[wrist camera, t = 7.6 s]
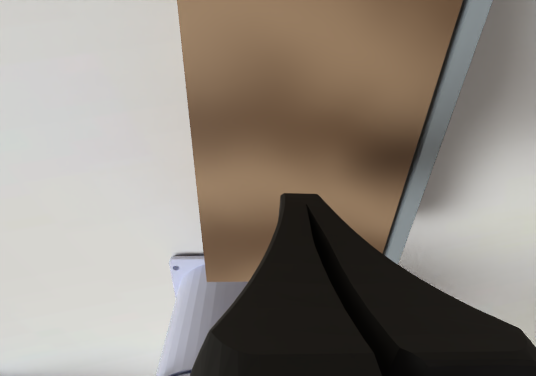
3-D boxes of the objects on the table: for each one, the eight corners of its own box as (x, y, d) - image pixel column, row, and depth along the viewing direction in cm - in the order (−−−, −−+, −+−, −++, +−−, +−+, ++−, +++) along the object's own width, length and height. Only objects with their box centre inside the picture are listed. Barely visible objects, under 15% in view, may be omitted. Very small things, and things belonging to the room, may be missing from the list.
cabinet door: (376, 221, 23) (408, 278, 18) (353, 221, 23) (379, 278, 18) (459, -78, 14) (568, -122, 9) (421, -80, 14) (512, -125, 9)
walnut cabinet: (347, 219, 23) (374, 280, 18) (217, 219, 22) (206, 282, 17) (411, -78, 14) (503, -128, 9) (196, -91, 13) (161, -151, 8)
